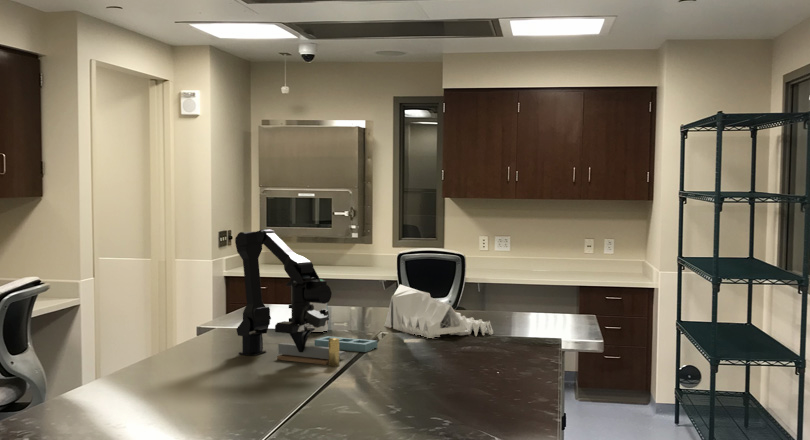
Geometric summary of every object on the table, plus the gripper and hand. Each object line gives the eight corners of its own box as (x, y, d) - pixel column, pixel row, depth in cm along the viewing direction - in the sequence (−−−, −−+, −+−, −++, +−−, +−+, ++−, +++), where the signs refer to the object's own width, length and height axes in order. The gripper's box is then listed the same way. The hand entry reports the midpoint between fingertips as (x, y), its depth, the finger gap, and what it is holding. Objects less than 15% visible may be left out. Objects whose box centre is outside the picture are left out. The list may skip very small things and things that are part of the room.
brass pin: (335, 367, 215) (335, 340, 215) (326, 366, 216) (326, 339, 216) (341, 365, 217) (341, 338, 217) (332, 364, 219) (332, 337, 219)
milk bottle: (326, 333, 274) (326, 280, 274) (306, 333, 274) (305, 280, 274) (328, 330, 282) (328, 278, 282) (309, 330, 282) (308, 278, 282)
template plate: (325, 364, 218) (325, 361, 218) (277, 359, 226) (277, 355, 226) (339, 359, 225) (339, 356, 225) (292, 354, 234) (292, 351, 234)
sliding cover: (329, 359, 219) (329, 348, 219) (278, 353, 228) (278, 343, 228) (345, 354, 227) (345, 343, 227) (295, 349, 236) (295, 339, 236)
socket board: (365, 352, 237) (365, 344, 237) (314, 347, 246) (314, 339, 246) (377, 348, 244) (377, 340, 244) (327, 343, 254) (327, 336, 254)
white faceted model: (495, 335, 271) (495, 291, 271) (435, 342, 258) (435, 295, 257) (435, 321, 307) (435, 282, 307) (379, 326, 293) (379, 285, 293)
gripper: (304, 306, 210) (304, 360, 210) (339, 299, 227) (339, 349, 227) (273, 304, 215) (274, 356, 216) (310, 297, 232) (310, 346, 232)
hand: (301, 352), depth 222 cm, fingers closed
